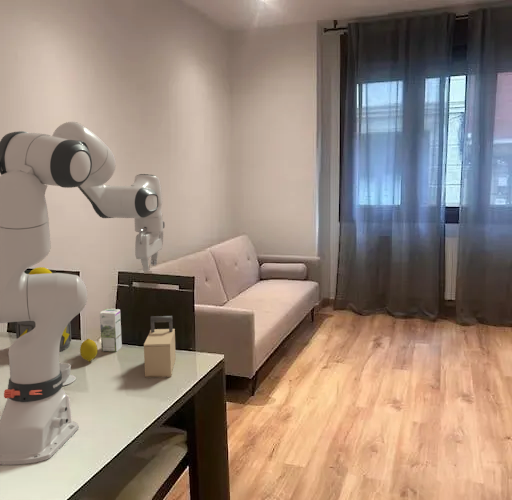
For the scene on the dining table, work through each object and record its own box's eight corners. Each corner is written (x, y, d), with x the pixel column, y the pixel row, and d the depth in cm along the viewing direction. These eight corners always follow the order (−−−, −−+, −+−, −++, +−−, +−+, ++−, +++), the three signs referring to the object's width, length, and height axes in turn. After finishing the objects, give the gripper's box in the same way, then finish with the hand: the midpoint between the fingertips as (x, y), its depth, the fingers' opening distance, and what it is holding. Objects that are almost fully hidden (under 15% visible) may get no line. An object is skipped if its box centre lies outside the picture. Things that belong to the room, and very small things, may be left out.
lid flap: (170, 345, 158) (169, 327, 157) (143, 346, 157) (143, 327, 157) (174, 330, 174) (174, 313, 173) (151, 331, 173) (150, 314, 172)
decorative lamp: (82, 342, 194) (78, 264, 190) (48, 358, 176) (43, 273, 172) (41, 337, 200) (36, 262, 195) (4, 353, 182) (-2, 270, 178)
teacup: (64, 389, 151) (63, 374, 150) (34, 387, 153) (33, 372, 152) (82, 376, 161) (81, 362, 160) (53, 374, 163) (52, 360, 162)
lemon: (94, 364, 171) (93, 341, 169) (78, 364, 171) (77, 341, 170) (100, 358, 176) (99, 336, 175) (84, 358, 176) (82, 336, 175)
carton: (171, 377, 159) (170, 346, 158) (145, 377, 159) (143, 346, 158) (175, 359, 175) (174, 330, 174) (152, 359, 175) (151, 331, 173)
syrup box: (122, 347, 188) (120, 308, 186) (116, 352, 182) (114, 312, 180) (107, 346, 189) (105, 308, 187) (101, 351, 183) (99, 312, 181)
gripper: (149, 229, 153) (151, 275, 155) (166, 222, 173) (167, 262, 175) (129, 229, 153) (130, 274, 155) (147, 221, 173) (148, 261, 176)
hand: (150, 268), depth 165 cm, fingers open, 8 cm apart
